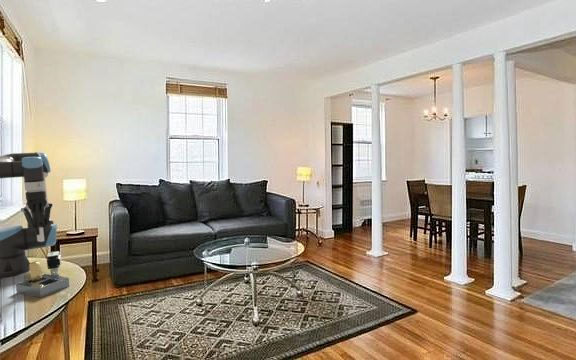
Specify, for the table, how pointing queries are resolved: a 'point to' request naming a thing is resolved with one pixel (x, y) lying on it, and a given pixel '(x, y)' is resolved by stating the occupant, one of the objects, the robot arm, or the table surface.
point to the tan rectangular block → (35, 271)
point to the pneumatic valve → (54, 262)
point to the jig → (42, 285)
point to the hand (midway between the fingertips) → (40, 241)
